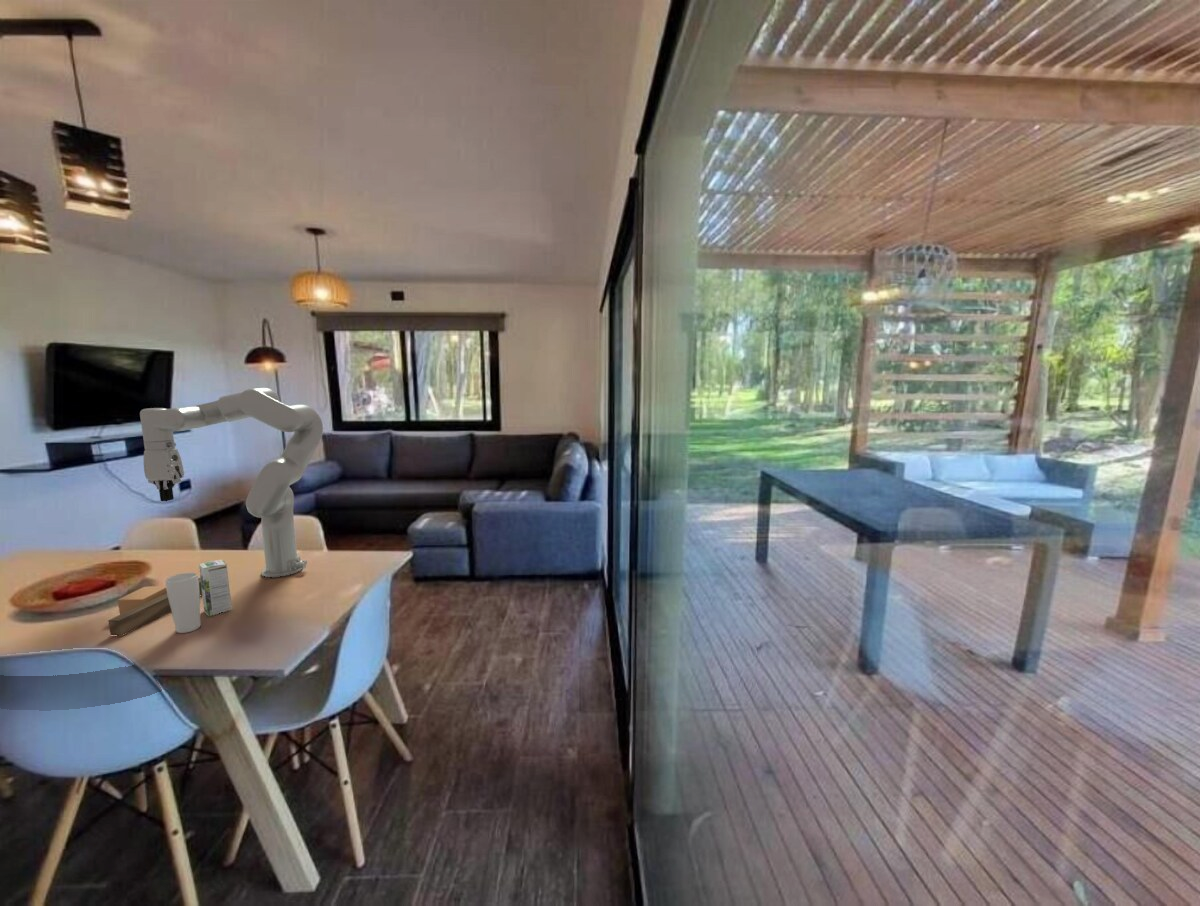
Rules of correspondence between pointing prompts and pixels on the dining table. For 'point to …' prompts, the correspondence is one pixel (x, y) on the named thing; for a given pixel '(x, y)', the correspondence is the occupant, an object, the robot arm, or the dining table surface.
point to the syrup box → (215, 587)
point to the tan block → (140, 597)
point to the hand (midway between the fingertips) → (167, 500)
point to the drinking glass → (184, 601)
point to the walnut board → (141, 615)
